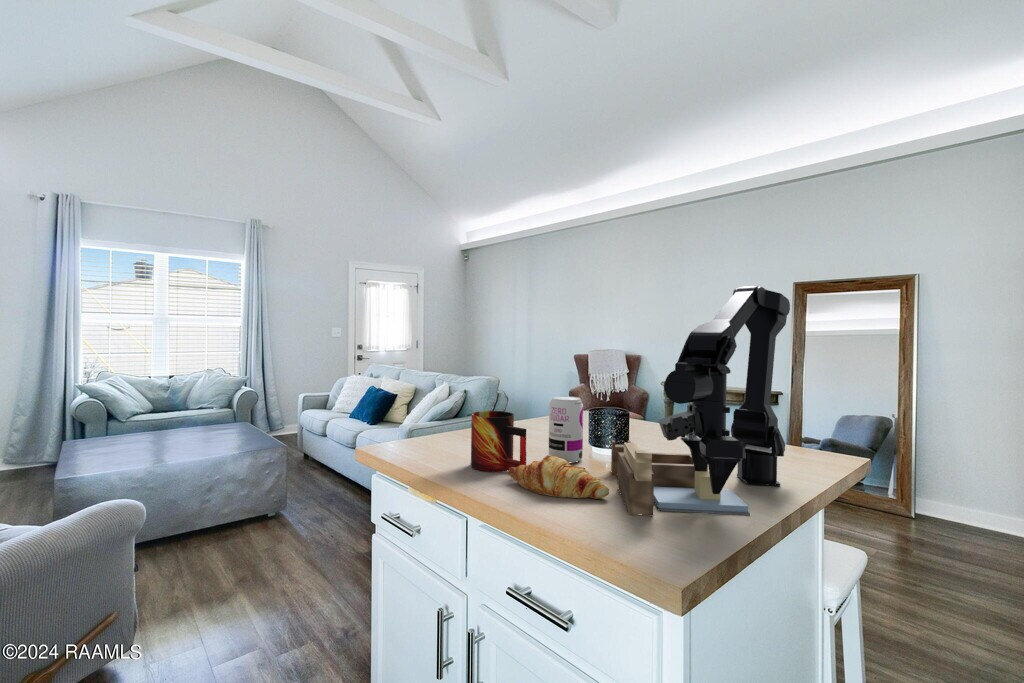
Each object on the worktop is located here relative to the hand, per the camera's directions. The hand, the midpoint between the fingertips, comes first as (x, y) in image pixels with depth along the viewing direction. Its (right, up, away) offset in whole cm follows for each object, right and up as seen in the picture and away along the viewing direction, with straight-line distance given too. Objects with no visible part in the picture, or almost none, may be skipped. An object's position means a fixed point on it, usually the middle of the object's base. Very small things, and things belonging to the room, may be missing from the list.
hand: (707, 485), depth 87 cm
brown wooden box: (-6, -3, +6) cm, 9 cm away
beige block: (-13, +3, -1) cm, 14 cm away
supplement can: (-22, -3, +30) cm, 37 cm away
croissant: (-27, -3, +6) cm, 28 cm away
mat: (-2, -3, 0) cm, 4 cm away
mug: (-38, -3, +22) cm, 44 cm away
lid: (-2, -3, 0) cm, 4 cm away
